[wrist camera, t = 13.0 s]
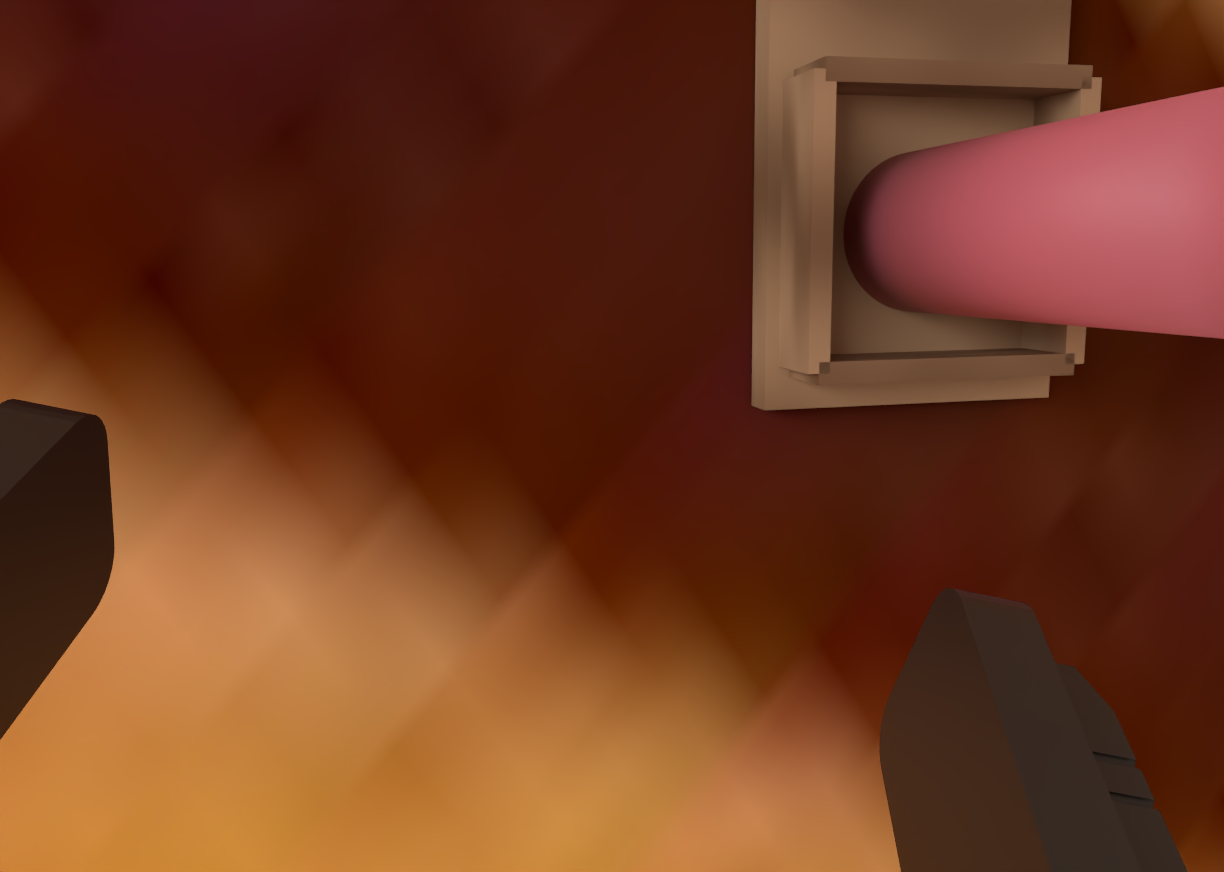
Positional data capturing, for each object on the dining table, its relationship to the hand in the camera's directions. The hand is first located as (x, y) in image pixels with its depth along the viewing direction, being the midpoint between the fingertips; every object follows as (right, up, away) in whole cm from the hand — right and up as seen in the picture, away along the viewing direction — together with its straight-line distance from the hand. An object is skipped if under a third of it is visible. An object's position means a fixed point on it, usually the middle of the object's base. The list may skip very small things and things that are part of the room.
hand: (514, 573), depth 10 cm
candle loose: (+9, +7, +19) cm, 23 cm away
